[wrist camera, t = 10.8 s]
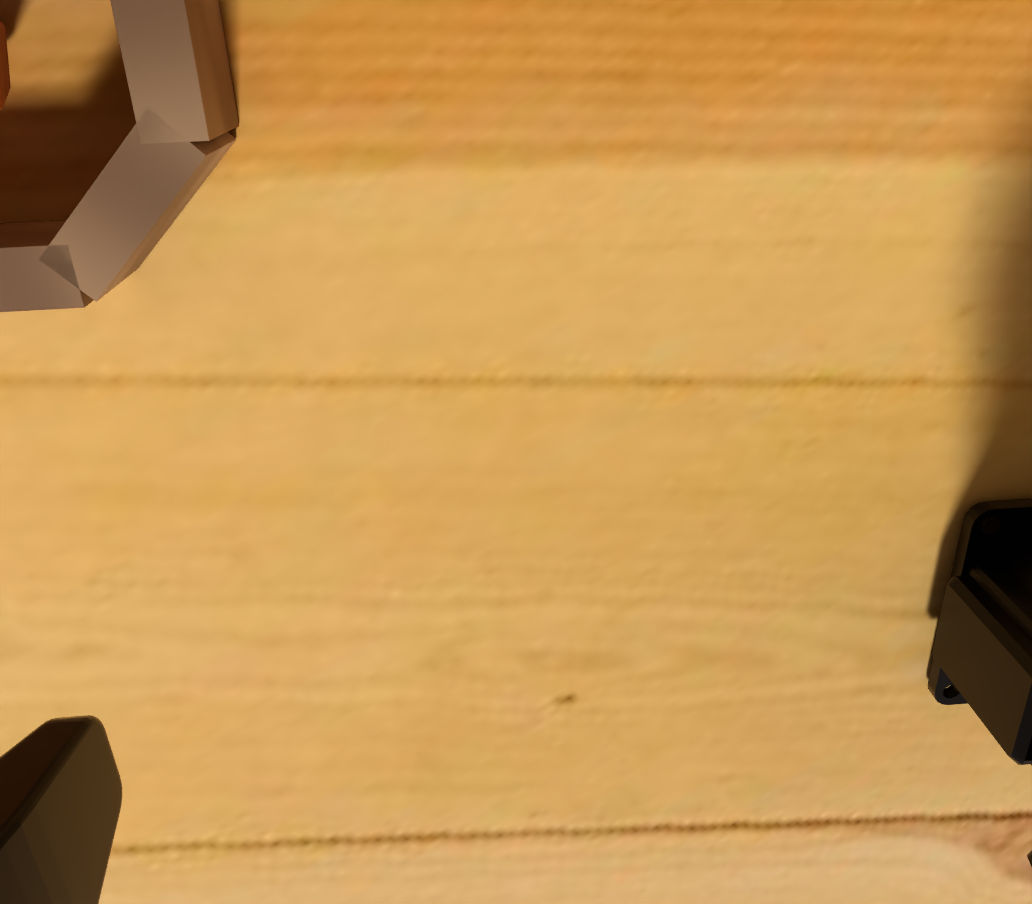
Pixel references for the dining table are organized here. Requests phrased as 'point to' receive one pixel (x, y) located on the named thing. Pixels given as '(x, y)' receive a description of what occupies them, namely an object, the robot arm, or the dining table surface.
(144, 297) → the dining table surface
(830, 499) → the dining table surface
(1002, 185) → the dining table surface
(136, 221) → the bead ring
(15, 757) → the robot arm
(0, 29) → the carrot
